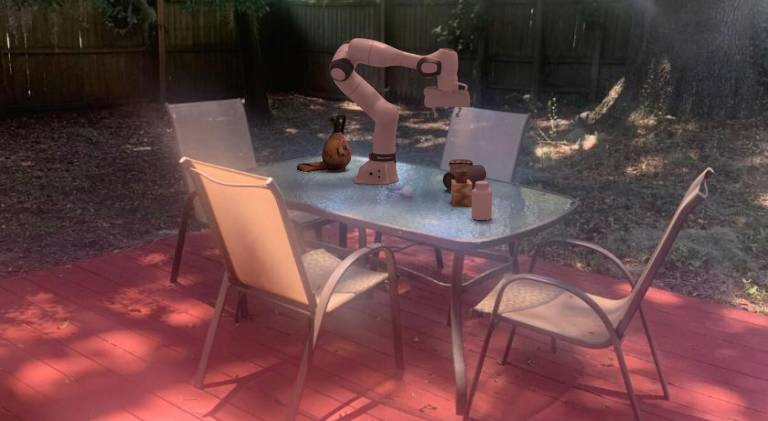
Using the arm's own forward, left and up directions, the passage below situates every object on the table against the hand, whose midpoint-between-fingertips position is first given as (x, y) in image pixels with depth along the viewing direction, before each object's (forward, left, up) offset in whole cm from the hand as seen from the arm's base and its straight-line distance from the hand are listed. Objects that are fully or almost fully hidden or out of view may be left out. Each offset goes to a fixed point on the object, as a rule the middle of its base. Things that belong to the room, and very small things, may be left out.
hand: (446, 117), depth 305 cm
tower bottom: (+5, -20, -35) cm, 41 cm away
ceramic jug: (-53, +49, -35) cm, 80 cm away
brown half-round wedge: (+10, +25, -35) cm, 44 cm away
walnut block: (+5, -20, -25) cm, 32 cm away
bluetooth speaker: (+10, +9, -35) cm, 38 cm away
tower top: (+5, -20, -30) cm, 36 cm away
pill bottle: (+11, -42, -35) cm, 56 cm away
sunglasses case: (-65, +51, -36) cm, 90 cm away
